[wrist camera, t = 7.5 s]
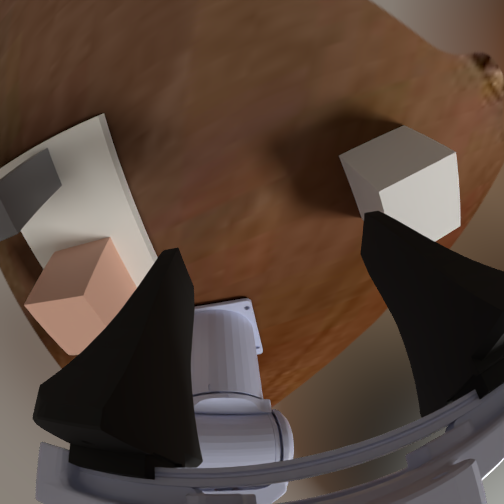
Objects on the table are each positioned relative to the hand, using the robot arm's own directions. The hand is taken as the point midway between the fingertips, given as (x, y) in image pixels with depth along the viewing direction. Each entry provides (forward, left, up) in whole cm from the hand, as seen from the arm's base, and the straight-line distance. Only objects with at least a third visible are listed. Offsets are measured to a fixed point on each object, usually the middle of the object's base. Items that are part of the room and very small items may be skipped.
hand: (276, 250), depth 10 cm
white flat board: (-2, +14, -9) cm, 17 cm away
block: (-5, +14, -8) cm, 17 cm away
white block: (-2, -10, -10) cm, 14 cm away
